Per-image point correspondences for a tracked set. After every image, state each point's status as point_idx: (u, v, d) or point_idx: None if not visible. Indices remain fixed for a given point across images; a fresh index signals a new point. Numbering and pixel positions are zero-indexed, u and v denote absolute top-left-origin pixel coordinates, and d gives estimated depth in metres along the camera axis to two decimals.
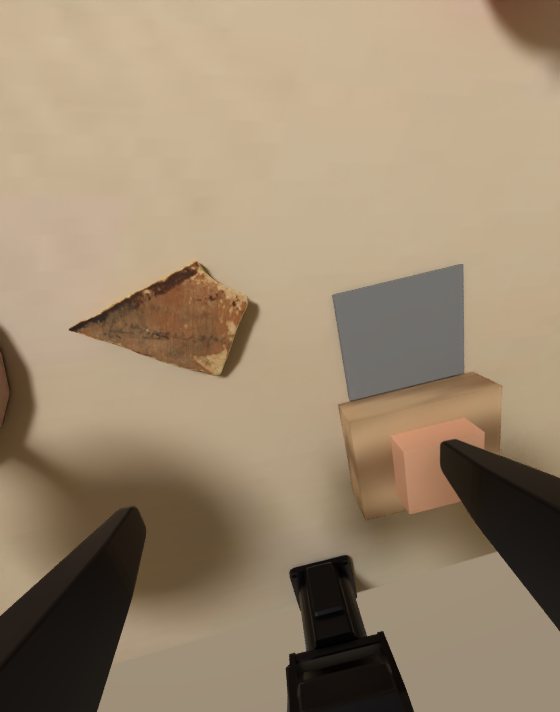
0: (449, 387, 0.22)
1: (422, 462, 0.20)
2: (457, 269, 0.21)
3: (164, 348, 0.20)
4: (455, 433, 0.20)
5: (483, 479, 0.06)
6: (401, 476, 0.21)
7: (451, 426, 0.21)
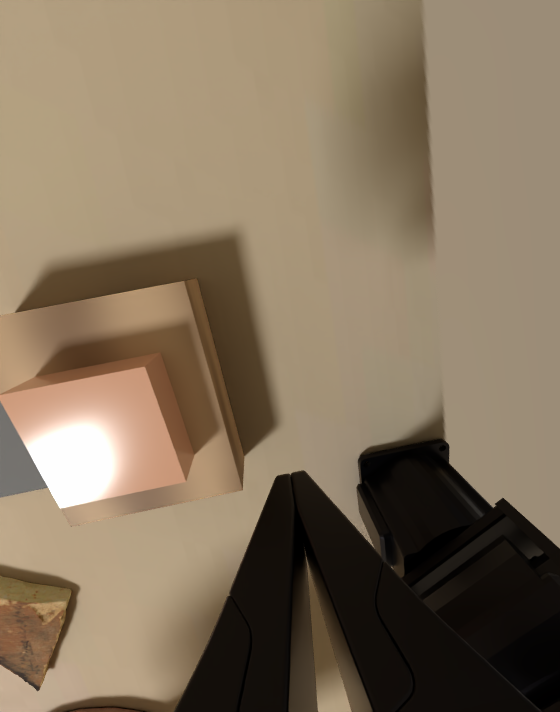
0: None
1: (77, 481, 0.13)
2: None
3: (40, 642, 0.21)
4: None
5: (298, 518, 0.06)
6: None
7: None
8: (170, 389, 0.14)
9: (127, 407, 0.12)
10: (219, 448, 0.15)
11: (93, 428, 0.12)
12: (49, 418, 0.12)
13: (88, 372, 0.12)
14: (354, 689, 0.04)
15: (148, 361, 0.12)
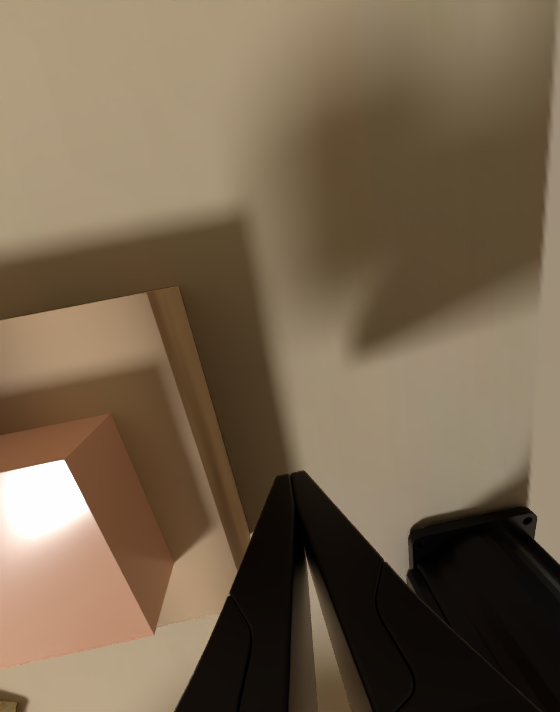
0: None
1: None
2: None
3: None
4: None
5: (298, 518, 0.06)
6: None
7: None
8: (130, 472, 0.08)
9: (38, 530, 0.06)
10: (213, 552, 0.10)
11: None
12: None
13: None
14: (354, 689, 0.04)
15: (79, 441, 0.07)
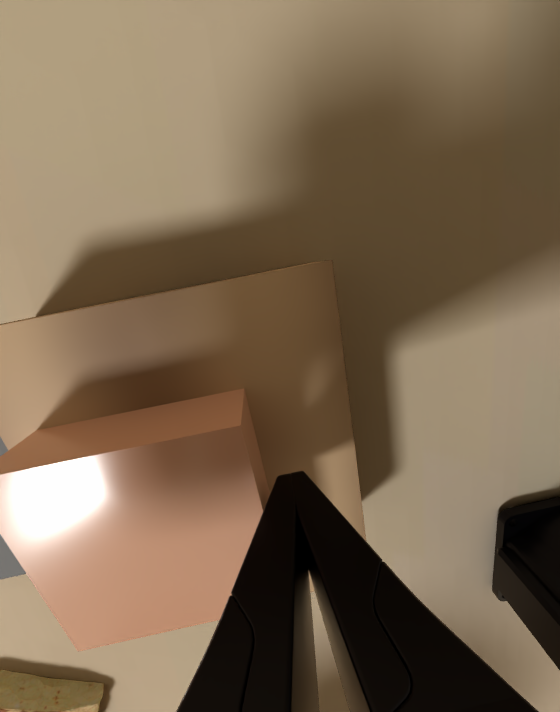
0: None
1: (107, 611, 0.07)
2: None
3: None
4: None
5: (297, 519, 0.06)
6: None
7: None
8: (257, 447, 0.08)
9: (203, 495, 0.07)
10: None
11: (140, 530, 0.07)
12: (63, 517, 0.06)
13: (131, 429, 0.07)
14: (352, 689, 0.04)
15: (237, 410, 0.07)
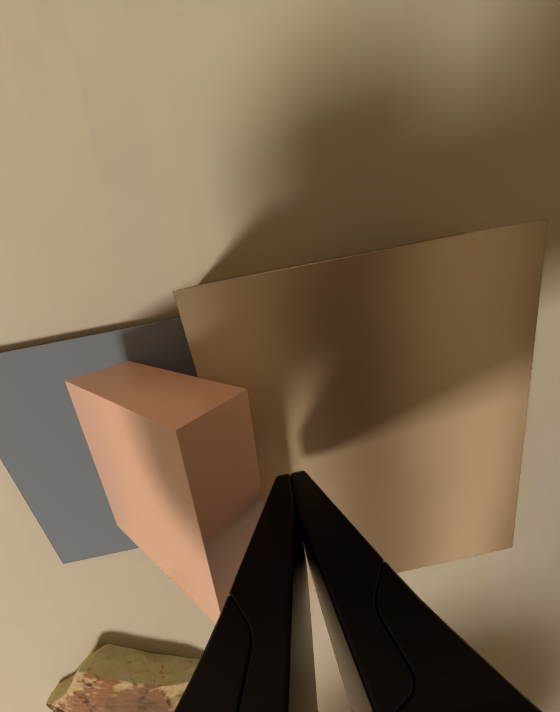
0: None
1: (124, 514, 0.09)
2: None
3: None
4: None
5: (298, 519, 0.06)
6: None
7: None
8: (250, 458, 0.07)
9: (158, 477, 0.06)
10: (502, 489, 0.10)
11: (130, 473, 0.08)
12: (97, 432, 0.08)
13: (143, 387, 0.08)
14: (354, 689, 0.04)
15: (202, 412, 0.06)
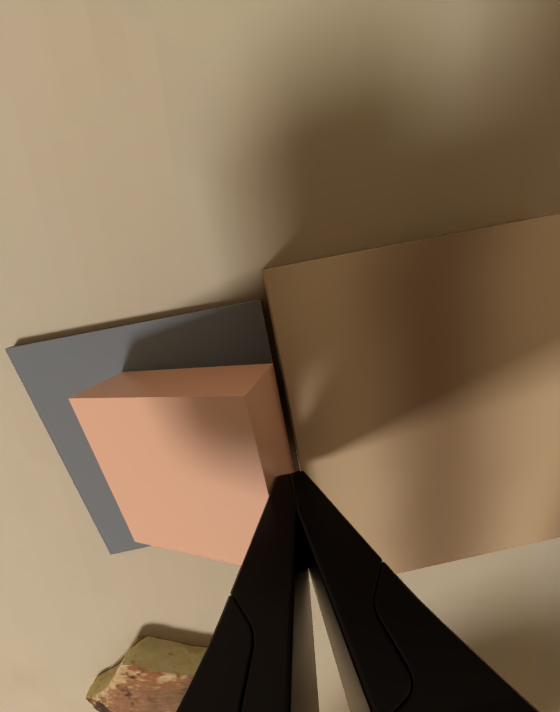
0: (280, 363, 0.09)
1: (151, 520, 0.09)
2: (19, 359, 0.10)
3: None
4: None
5: (297, 519, 0.06)
6: None
7: None
8: (281, 422, 0.08)
9: (214, 452, 0.07)
10: None
11: (169, 466, 0.08)
12: (121, 440, 0.08)
13: (171, 383, 0.08)
14: (352, 689, 0.04)
15: (252, 382, 0.07)
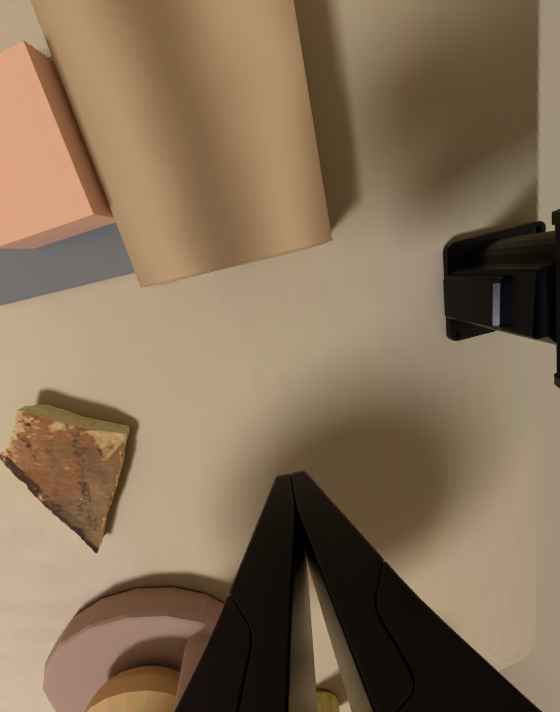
0: None
1: None
2: None
3: (98, 485, 0.19)
4: None
5: (298, 518, 0.06)
6: (51, 234, 0.13)
7: None
8: None
9: (20, 105, 0.11)
10: (309, 175, 0.13)
11: None
12: None
13: None
14: (354, 689, 0.04)
15: (39, 54, 0.11)
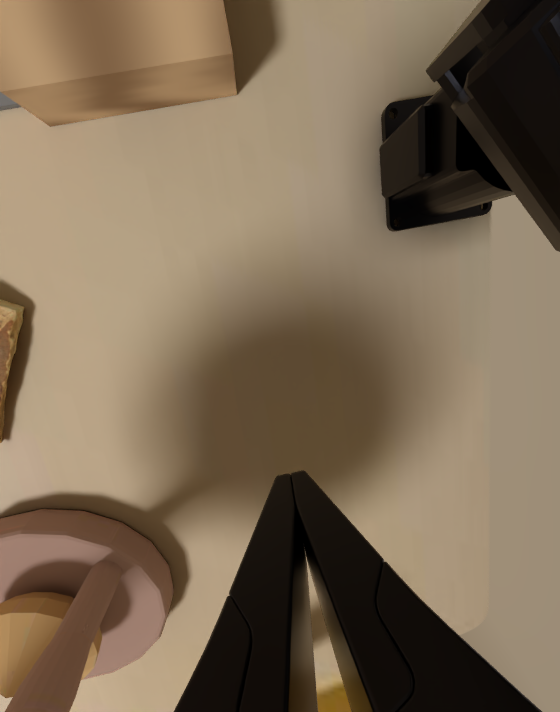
0: None
1: None
2: None
3: None
4: None
5: (298, 518, 0.06)
6: None
7: None
8: None
9: None
10: None
11: None
12: None
13: None
14: (354, 689, 0.04)
15: None
